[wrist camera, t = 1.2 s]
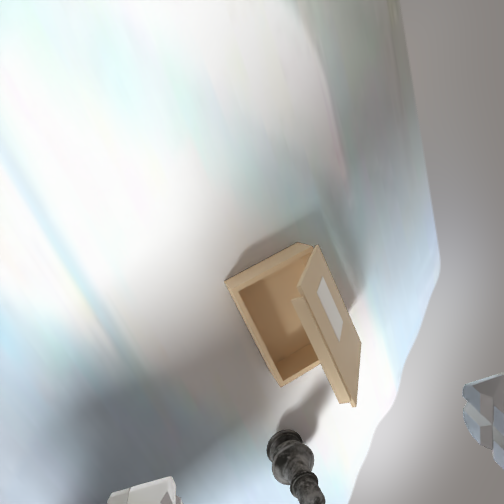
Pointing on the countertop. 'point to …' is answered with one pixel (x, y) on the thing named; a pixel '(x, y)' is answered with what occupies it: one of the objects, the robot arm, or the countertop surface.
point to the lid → (329, 327)
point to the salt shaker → (294, 466)
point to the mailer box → (276, 311)
